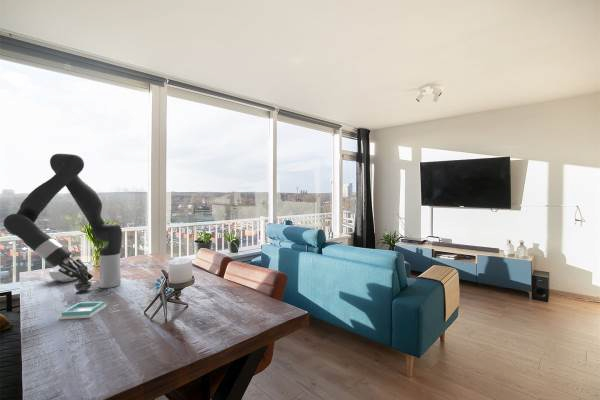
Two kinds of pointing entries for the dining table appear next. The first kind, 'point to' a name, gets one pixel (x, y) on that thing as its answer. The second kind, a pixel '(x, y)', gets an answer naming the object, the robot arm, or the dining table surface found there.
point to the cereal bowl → (60, 275)
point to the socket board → (83, 310)
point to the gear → (160, 283)
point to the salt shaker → (83, 286)
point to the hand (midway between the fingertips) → (88, 279)
